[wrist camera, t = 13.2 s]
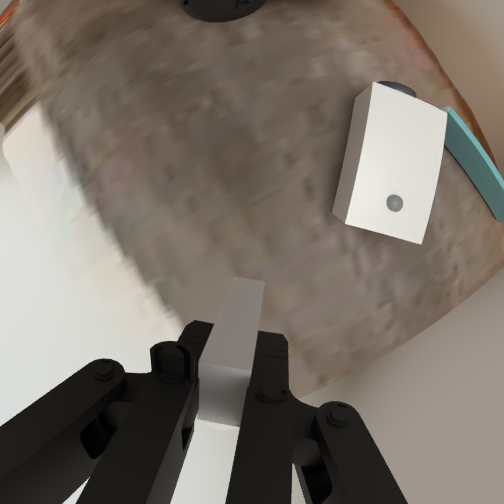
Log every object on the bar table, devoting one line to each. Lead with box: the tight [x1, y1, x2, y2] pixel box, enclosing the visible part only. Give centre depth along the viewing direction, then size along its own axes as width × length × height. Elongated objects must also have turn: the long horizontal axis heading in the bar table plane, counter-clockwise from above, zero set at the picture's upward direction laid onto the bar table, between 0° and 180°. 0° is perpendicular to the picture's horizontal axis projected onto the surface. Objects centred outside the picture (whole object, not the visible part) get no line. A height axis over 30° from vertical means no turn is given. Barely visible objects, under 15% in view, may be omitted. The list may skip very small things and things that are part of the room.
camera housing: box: [332, 81, 447, 244], centre depth 33 cm, size 20×11×10 cm, turn 169°
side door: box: [440, 106, 504, 223], centre depth 31 cm, size 24×2×8 cm, turn 52°
